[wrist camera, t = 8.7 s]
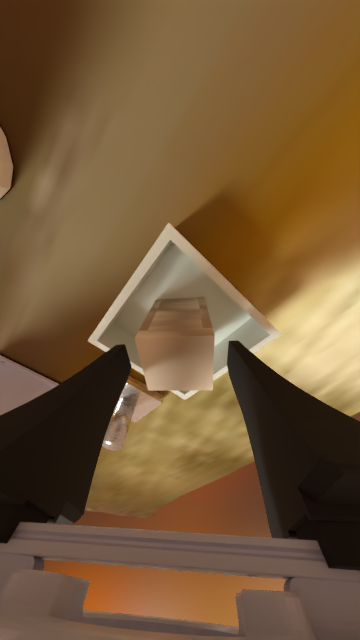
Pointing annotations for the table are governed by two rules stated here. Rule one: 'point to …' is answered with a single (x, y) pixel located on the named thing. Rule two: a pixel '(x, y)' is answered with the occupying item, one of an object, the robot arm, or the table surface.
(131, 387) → the stud plate
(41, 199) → the table surface
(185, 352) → the socket block
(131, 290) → the bin
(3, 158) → the white cup
